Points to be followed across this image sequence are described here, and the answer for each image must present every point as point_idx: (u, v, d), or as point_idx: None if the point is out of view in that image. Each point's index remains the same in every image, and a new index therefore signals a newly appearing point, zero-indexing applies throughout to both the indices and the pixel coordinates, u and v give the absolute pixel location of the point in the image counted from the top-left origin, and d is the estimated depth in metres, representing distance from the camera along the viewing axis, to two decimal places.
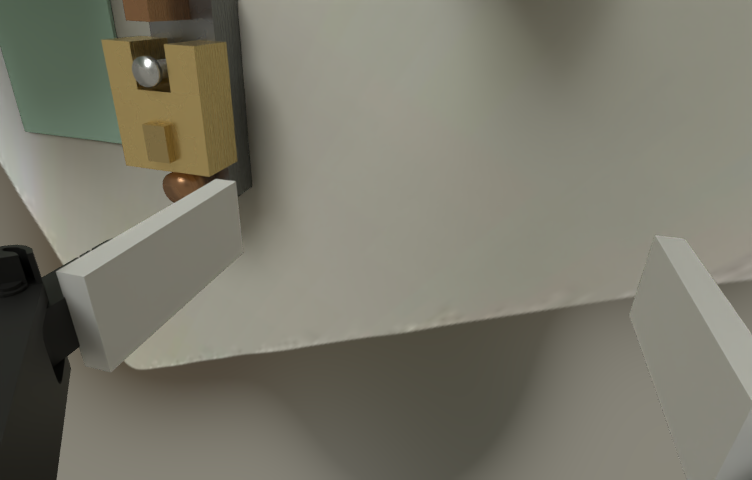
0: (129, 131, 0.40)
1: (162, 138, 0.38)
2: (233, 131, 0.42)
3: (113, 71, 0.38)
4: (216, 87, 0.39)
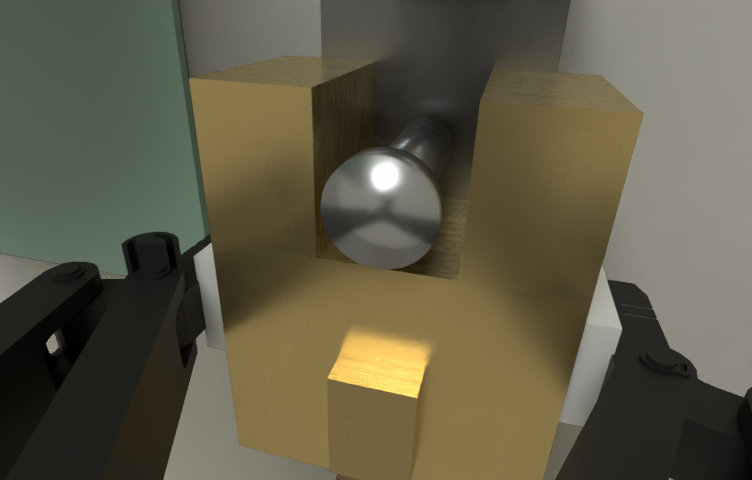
0: (261, 371, 0.12)
1: (399, 428, 0.11)
2: None
3: (228, 193, 0.10)
4: None
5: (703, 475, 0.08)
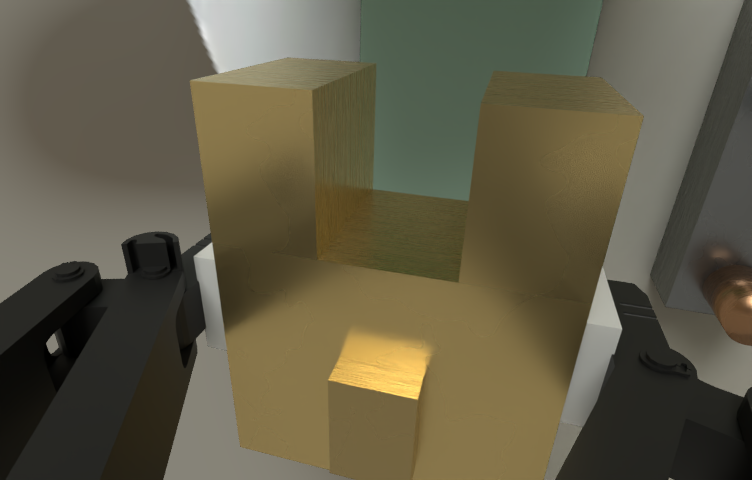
0: (262, 372, 0.12)
1: (399, 430, 0.11)
2: None
3: (229, 195, 0.10)
4: None
5: (704, 475, 0.08)
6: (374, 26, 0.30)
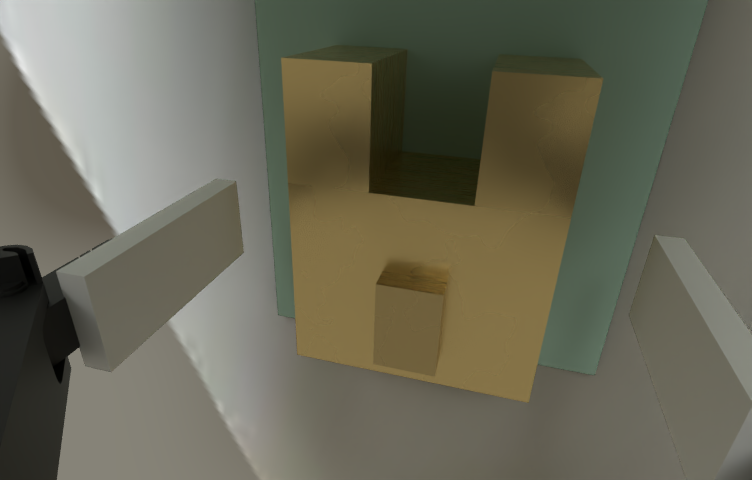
0: (319, 288, 0.16)
1: (429, 321, 0.14)
2: None
3: (304, 144, 0.14)
4: None
5: None
6: (282, 51, 0.17)
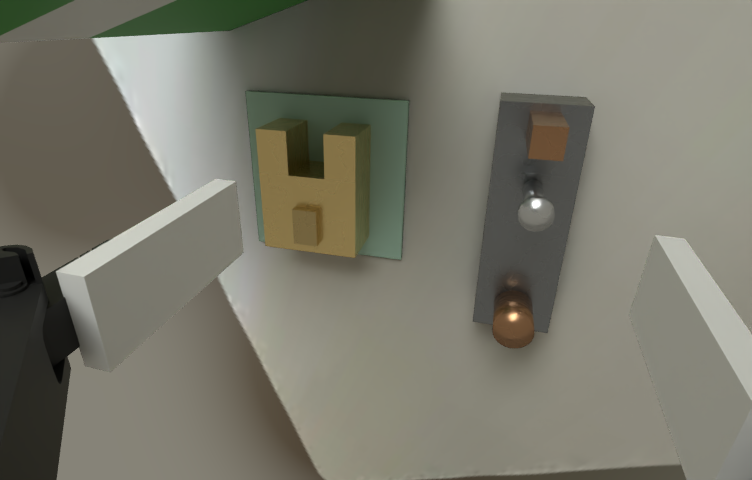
0: (273, 214, 0.40)
1: (312, 223, 0.38)
2: (369, 208, 0.42)
3: (264, 158, 0.38)
4: (363, 170, 0.39)
5: None
6: (257, 120, 0.42)
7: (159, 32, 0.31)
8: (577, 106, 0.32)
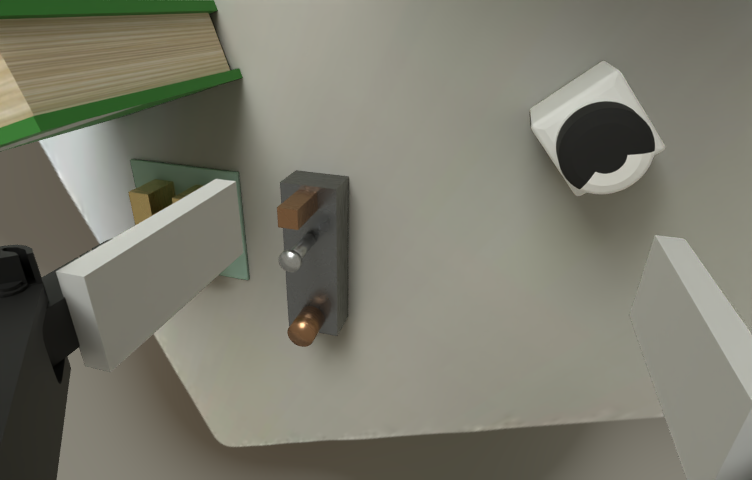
0: None
1: None
2: None
3: (136, 211, 0.54)
4: None
5: None
6: (140, 179, 0.58)
7: (48, 137, 0.47)
8: (326, 188, 0.48)
